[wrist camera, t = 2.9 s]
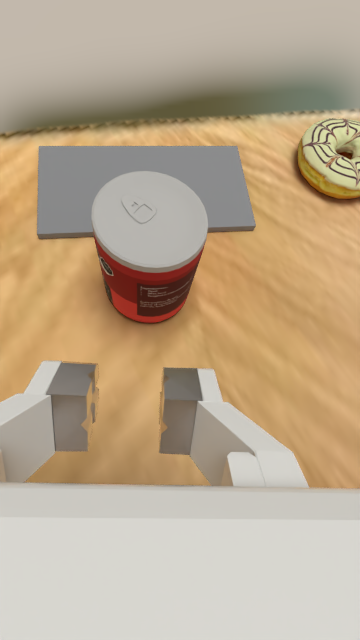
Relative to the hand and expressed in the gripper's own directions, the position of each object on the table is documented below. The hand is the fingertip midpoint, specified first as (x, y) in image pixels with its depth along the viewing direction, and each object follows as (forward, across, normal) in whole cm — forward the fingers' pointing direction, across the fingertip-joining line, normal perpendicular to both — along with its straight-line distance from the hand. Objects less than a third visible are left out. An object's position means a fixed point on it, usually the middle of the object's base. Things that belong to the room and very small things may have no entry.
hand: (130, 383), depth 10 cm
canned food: (+23, 0, +5) cm, 23 cm away
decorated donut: (+35, -22, -7) cm, 42 cm away
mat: (+31, +1, -3) cm, 31 cm away
